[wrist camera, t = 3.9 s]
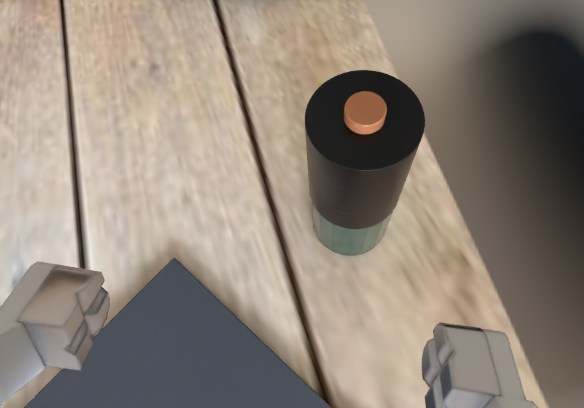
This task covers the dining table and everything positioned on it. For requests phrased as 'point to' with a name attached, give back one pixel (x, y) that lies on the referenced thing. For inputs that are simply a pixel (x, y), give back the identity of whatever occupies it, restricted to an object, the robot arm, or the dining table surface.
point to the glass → (347, 235)
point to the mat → (177, 357)
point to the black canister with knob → (361, 146)
